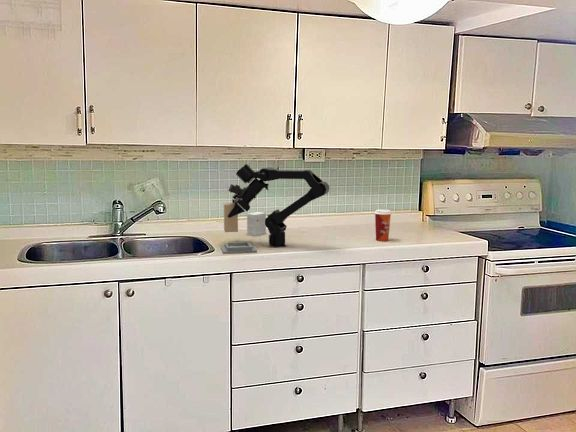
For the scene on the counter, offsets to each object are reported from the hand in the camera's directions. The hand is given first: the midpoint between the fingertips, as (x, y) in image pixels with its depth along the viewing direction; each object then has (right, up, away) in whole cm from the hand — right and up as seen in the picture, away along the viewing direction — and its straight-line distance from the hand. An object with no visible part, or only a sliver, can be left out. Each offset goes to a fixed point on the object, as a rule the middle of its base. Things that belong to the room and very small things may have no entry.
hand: (227, 216), depth 247 cm
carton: (+1, -7, +1) cm, 7 cm away
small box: (+11, -9, +28) cm, 31 cm away
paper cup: (+70, -11, +15) cm, 73 cm away
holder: (+5, -14, -8) cm, 17 cm away
